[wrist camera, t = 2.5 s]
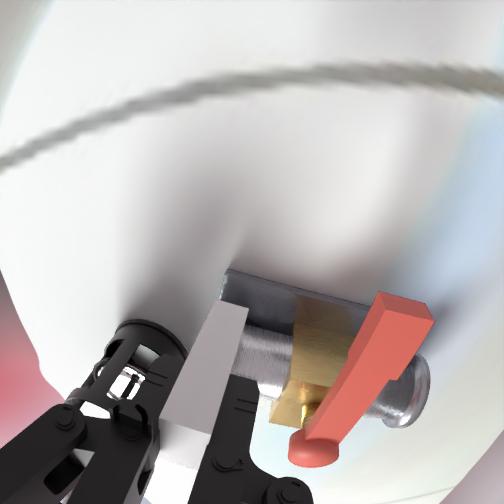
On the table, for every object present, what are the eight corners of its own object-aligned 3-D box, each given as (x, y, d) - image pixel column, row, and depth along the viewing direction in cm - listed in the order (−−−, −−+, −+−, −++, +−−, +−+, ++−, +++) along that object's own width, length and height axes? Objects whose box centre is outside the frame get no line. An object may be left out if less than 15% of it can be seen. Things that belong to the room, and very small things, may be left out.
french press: (108, 306, 32) (-20, 464, 11) (186, 322, 30) (78, 532, 10) (126, 378, 36) (45, 517, 15) (192, 396, 35) (128, 559, 14)
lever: (327, 453, 20) (326, 469, 19) (283, 446, 20) (281, 463, 19) (430, 305, 14) (440, 322, 12) (371, 289, 14) (377, 307, 13)
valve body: (207, 362, 32) (178, 439, 23) (227, 268, 27) (189, 346, 18) (375, 399, 31) (386, 474, 22) (427, 320, 26) (463, 399, 17)
